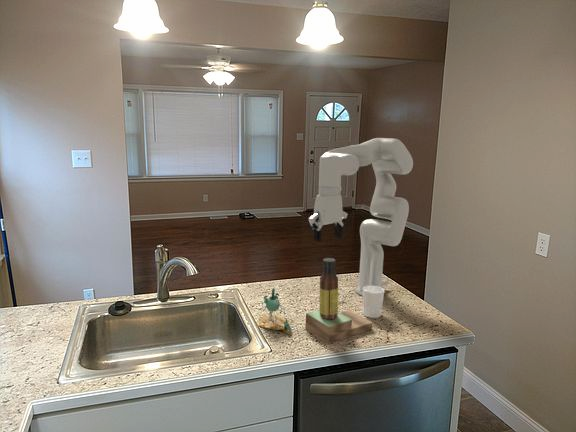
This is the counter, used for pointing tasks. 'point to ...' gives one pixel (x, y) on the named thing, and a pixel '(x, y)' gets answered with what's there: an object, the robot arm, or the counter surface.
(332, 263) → the sauce bottle
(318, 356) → the counter surface
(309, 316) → the stand
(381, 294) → the white cup
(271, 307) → the teal toy figure
